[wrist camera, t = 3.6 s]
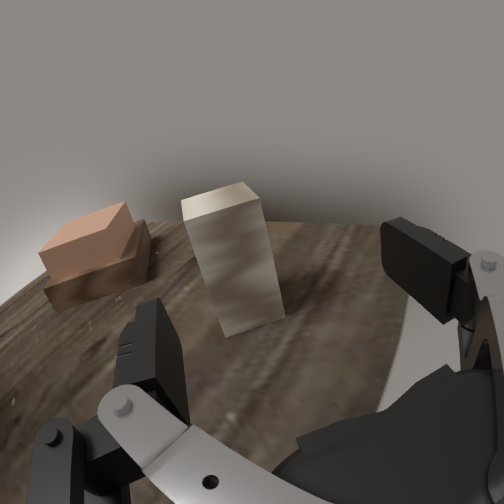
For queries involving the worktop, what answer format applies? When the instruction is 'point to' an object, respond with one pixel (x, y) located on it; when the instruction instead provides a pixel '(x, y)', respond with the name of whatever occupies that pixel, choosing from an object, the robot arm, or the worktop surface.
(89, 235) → the tower top block
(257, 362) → the worktop surface
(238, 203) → the cream block
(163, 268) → the worktop surface
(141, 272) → the tower base block
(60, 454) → the robot arm
